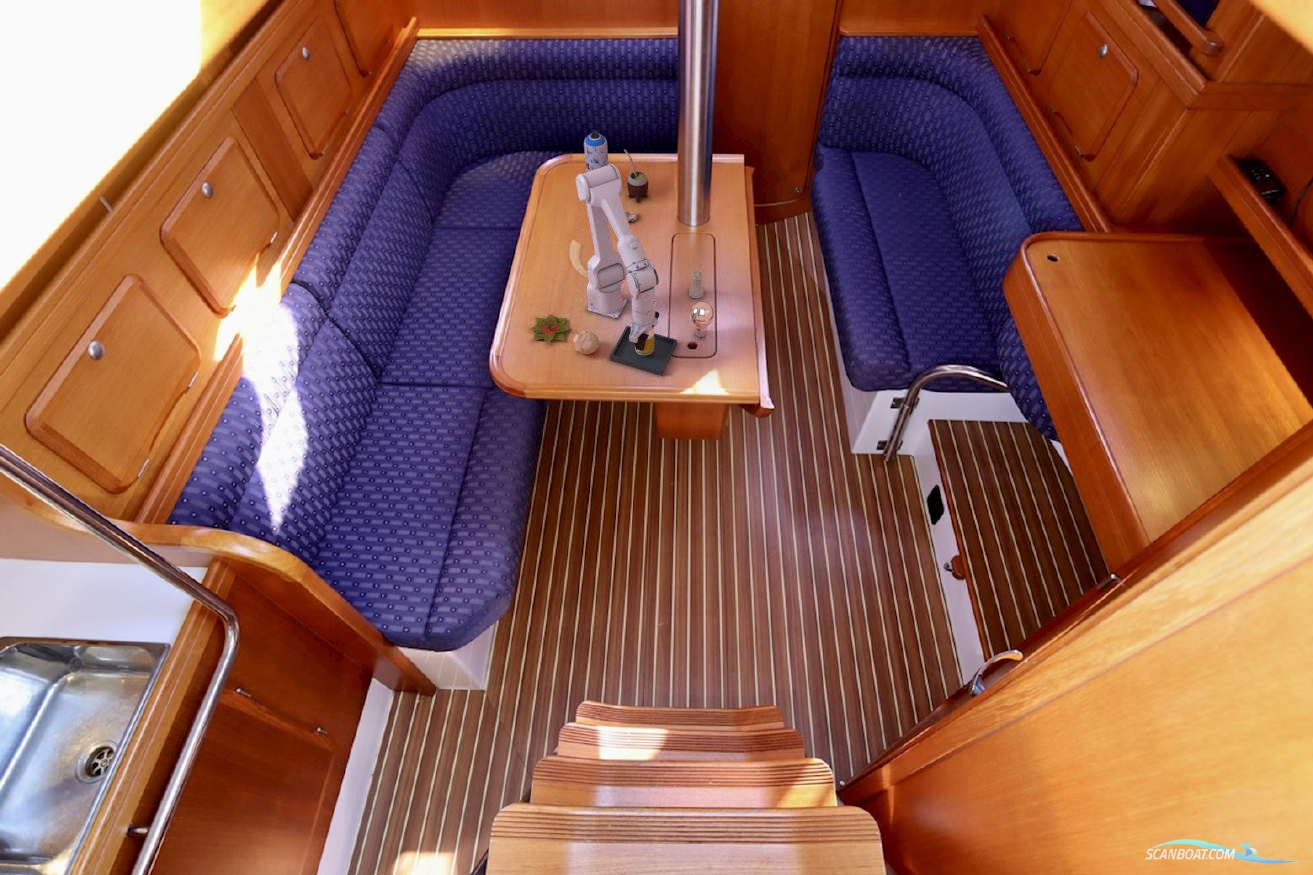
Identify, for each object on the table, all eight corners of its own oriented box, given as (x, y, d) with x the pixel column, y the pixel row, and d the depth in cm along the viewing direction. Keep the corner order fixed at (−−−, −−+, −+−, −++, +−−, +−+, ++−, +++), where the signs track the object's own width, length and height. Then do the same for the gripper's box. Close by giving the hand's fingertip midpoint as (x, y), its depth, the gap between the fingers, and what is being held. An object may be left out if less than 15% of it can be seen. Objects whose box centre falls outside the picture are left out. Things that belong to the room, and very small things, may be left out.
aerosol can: (585, 182, 223) (580, 126, 207) (608, 178, 224) (604, 123, 208) (589, 195, 219) (584, 140, 203) (612, 192, 220) (609, 137, 204)
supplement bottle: (652, 357, 177) (651, 333, 169) (632, 354, 178) (631, 330, 170) (655, 343, 180) (656, 318, 172) (637, 340, 181) (636, 315, 173)
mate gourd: (648, 203, 217) (647, 162, 204) (624, 203, 217) (622, 162, 204) (648, 189, 221) (648, 149, 209) (625, 189, 221) (623, 148, 209)
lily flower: (569, 346, 181) (567, 335, 177) (526, 346, 181) (523, 334, 178) (573, 315, 188) (571, 304, 184) (532, 315, 188) (529, 303, 184)
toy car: (638, 221, 212) (637, 214, 209) (614, 225, 211) (613, 217, 208) (635, 214, 214) (635, 207, 211) (611, 218, 213) (611, 210, 210)
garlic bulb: (584, 338, 183) (581, 318, 176) (603, 347, 181) (601, 327, 175) (571, 353, 180) (568, 334, 173) (590, 362, 178) (587, 343, 171)
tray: (610, 360, 178) (609, 355, 177) (627, 330, 185) (626, 325, 183) (661, 376, 175) (661, 371, 174) (677, 344, 182) (677, 339, 180)
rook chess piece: (705, 290, 194) (707, 270, 187) (701, 300, 191) (702, 280, 185) (691, 287, 195) (692, 266, 188) (686, 297, 192) (687, 276, 186)
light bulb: (704, 348, 181) (707, 317, 171) (683, 338, 183) (684, 307, 173) (716, 332, 184) (719, 302, 174) (695, 323, 186) (697, 292, 176)
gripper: (647, 329, 161) (647, 364, 172) (667, 290, 168) (666, 327, 179) (620, 321, 162) (623, 357, 173) (642, 284, 170) (643, 320, 181)
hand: (643, 341), depth 176 cm, fingers closed on supplement bottle, 5 cm apart
